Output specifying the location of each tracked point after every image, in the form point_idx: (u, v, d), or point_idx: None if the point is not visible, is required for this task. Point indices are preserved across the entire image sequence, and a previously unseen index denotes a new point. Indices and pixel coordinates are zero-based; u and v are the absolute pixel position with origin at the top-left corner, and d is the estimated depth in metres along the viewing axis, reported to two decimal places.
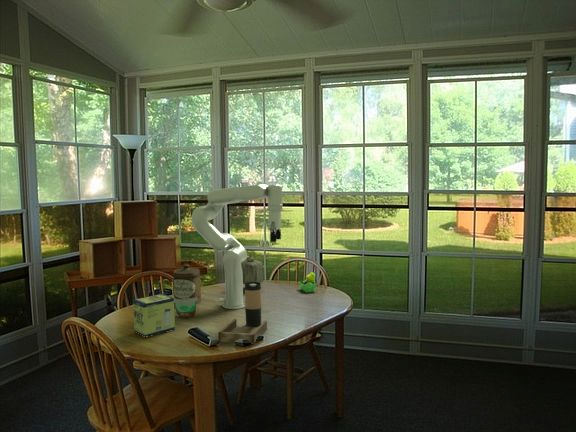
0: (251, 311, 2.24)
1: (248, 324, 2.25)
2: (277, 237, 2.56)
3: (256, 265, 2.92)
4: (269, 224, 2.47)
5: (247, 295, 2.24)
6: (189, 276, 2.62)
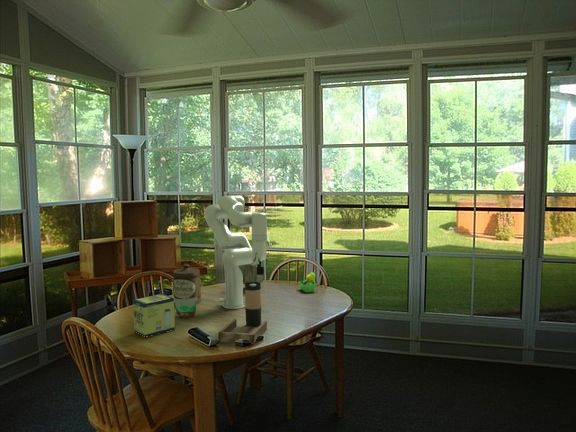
0: (251, 311, 2.24)
1: (248, 324, 2.25)
2: None
3: (256, 265, 2.92)
4: (253, 255, 2.32)
5: (247, 295, 2.24)
6: (189, 277, 2.62)
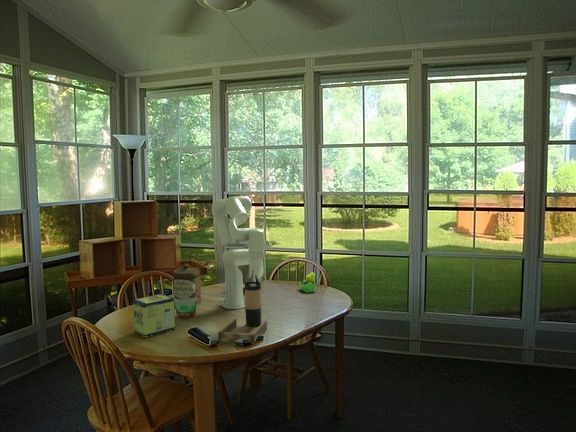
0: (251, 311, 2.24)
1: (248, 324, 2.25)
2: None
3: None
4: (250, 273, 2.28)
5: (247, 295, 2.24)
6: (189, 277, 2.62)
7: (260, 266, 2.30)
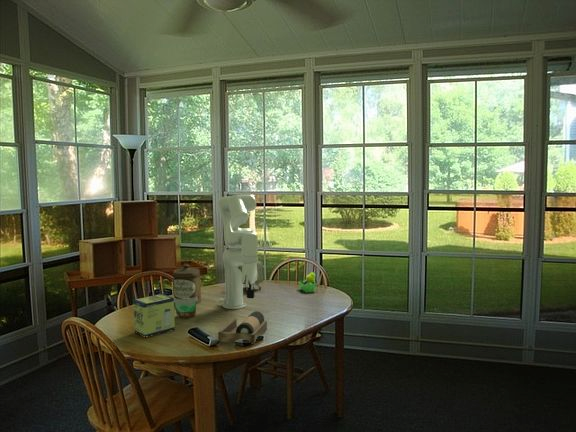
0: None
1: None
2: None
3: None
4: (242, 278, 2.18)
5: None
6: (189, 277, 2.62)
7: (253, 271, 2.20)
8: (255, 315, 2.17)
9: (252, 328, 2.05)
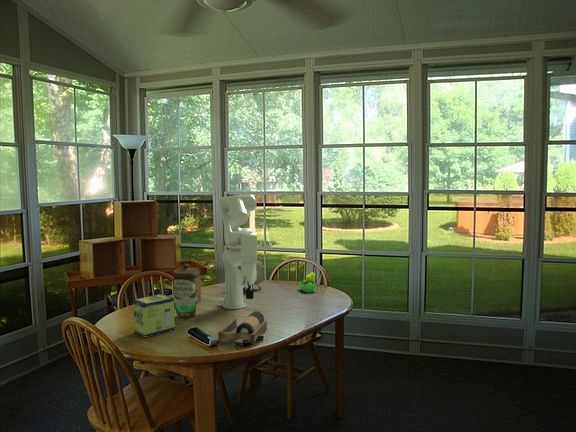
0: None
1: None
2: None
3: (256, 265, 2.92)
4: (242, 279, 2.17)
5: None
6: (189, 276, 2.62)
7: (252, 271, 2.18)
8: (255, 315, 2.17)
9: (252, 328, 2.05)
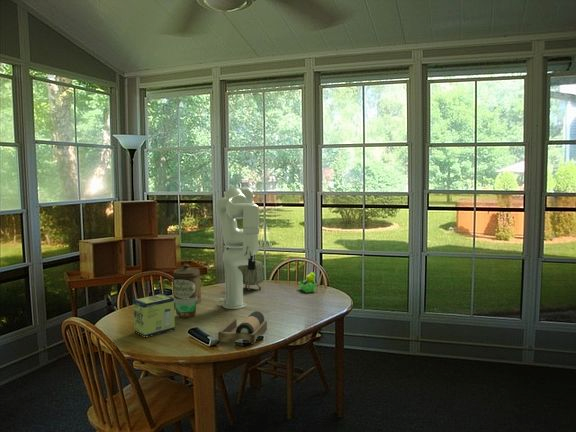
0: None
1: None
2: None
3: (256, 265, 2.92)
4: (244, 249, 2.20)
5: None
6: (189, 277, 2.62)
7: (255, 242, 2.21)
8: (255, 315, 2.17)
9: (252, 328, 2.05)
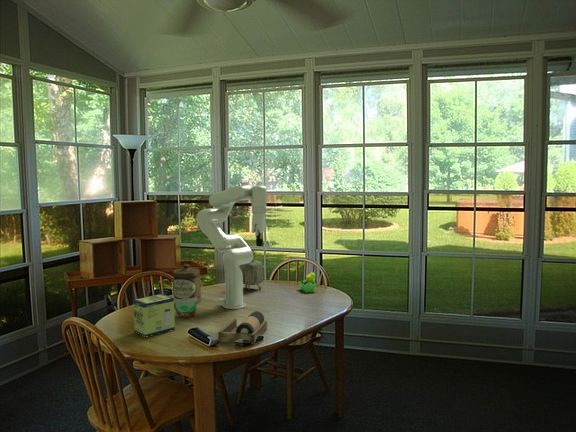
0: None
1: None
2: None
3: (256, 265, 2.92)
4: (252, 227, 2.38)
5: None
6: (189, 277, 2.62)
7: (262, 221, 2.40)
8: (255, 315, 2.17)
9: (252, 328, 2.05)
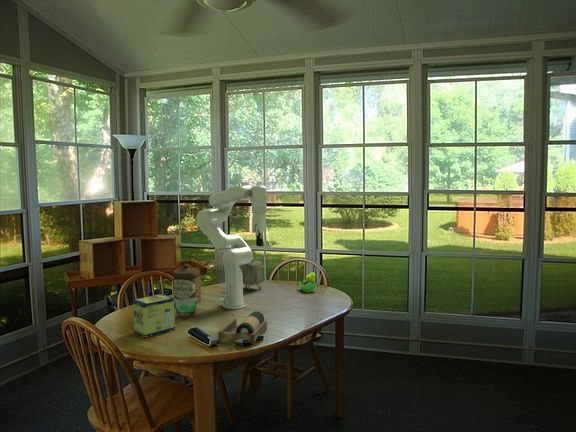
0: None
1: None
2: None
3: (256, 265, 2.92)
4: (252, 227, 2.39)
5: None
6: (189, 277, 2.62)
7: (262, 220, 2.40)
8: (255, 315, 2.17)
9: (252, 328, 2.05)
